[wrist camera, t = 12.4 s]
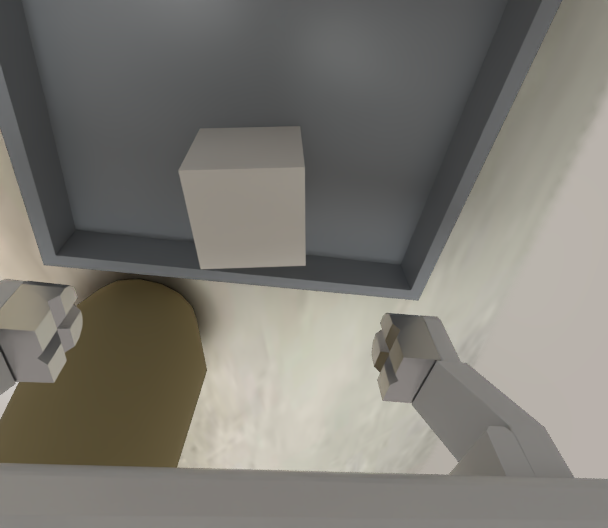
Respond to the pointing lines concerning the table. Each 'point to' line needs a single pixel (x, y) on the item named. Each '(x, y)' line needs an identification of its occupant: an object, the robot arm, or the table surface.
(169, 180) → the tray
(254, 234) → the block
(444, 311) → the table surface
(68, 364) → the squeeze bottle
